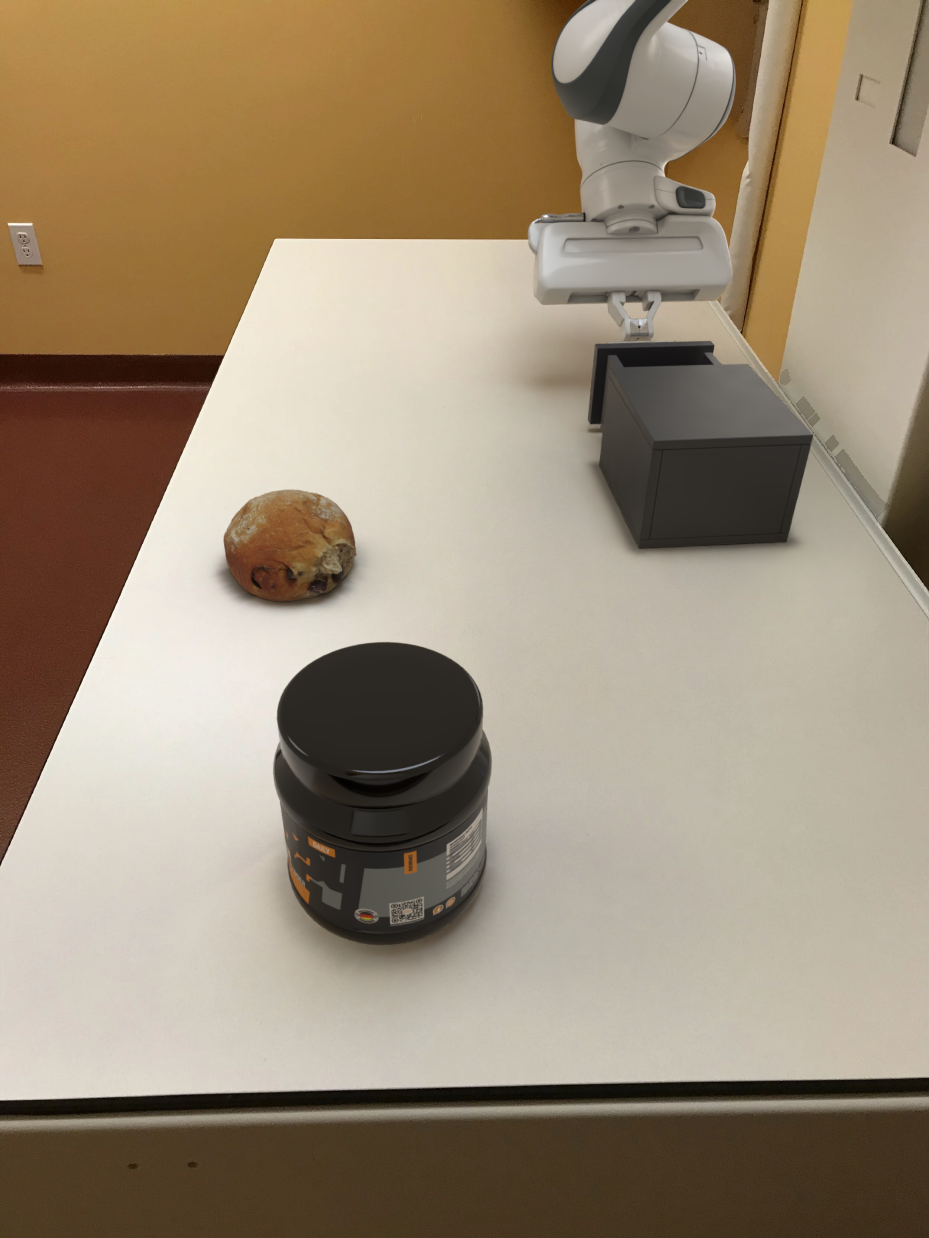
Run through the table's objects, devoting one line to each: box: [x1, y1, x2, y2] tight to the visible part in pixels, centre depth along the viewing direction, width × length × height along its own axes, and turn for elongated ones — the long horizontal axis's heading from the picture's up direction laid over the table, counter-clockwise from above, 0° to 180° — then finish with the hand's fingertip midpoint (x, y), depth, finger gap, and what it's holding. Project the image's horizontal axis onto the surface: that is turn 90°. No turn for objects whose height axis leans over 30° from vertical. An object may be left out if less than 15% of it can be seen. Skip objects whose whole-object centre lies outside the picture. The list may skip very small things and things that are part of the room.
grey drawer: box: [587, 340, 723, 432], centre depth 90 cm, size 18×11×8 cm, turn 6°
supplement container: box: [272, 641, 493, 947], centre depth 48 cm, size 10×10×12 cm
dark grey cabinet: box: [598, 363, 814, 549], centre depth 82 cm, size 15×13×10 cm
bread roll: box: [223, 488, 357, 602], centre depth 74 cm, size 10×10×8 cm
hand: (637, 339), depth 97 cm, fingers closed
